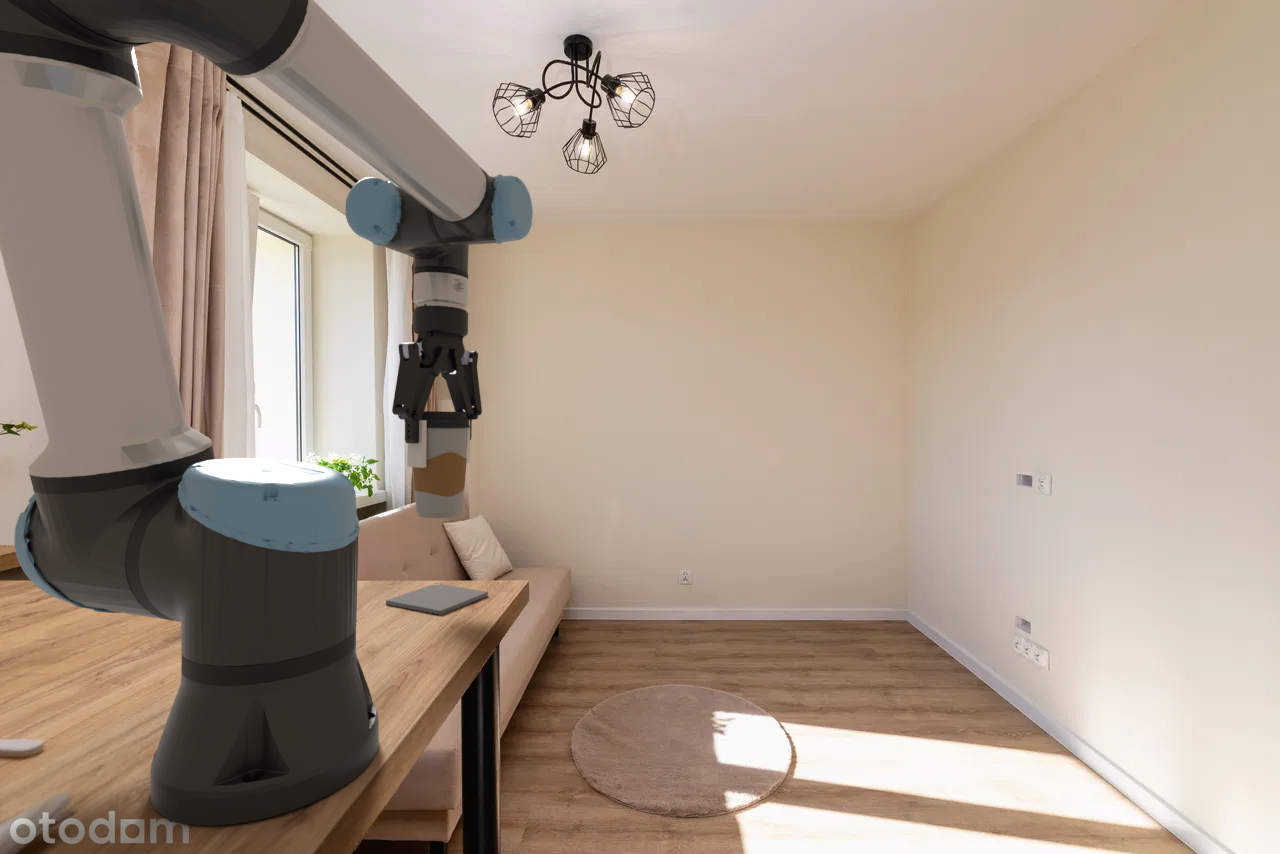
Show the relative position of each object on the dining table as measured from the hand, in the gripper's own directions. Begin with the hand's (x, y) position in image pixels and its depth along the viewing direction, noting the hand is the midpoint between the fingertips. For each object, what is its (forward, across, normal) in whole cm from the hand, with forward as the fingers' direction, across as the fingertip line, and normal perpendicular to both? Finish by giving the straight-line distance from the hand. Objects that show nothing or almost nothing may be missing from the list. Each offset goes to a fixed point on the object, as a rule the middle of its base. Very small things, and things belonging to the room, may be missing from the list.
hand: (439, 464), depth 90 cm
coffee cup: (+8, 0, 0) cm, 8 cm away
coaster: (+20, 0, 0) cm, 20 cm away
